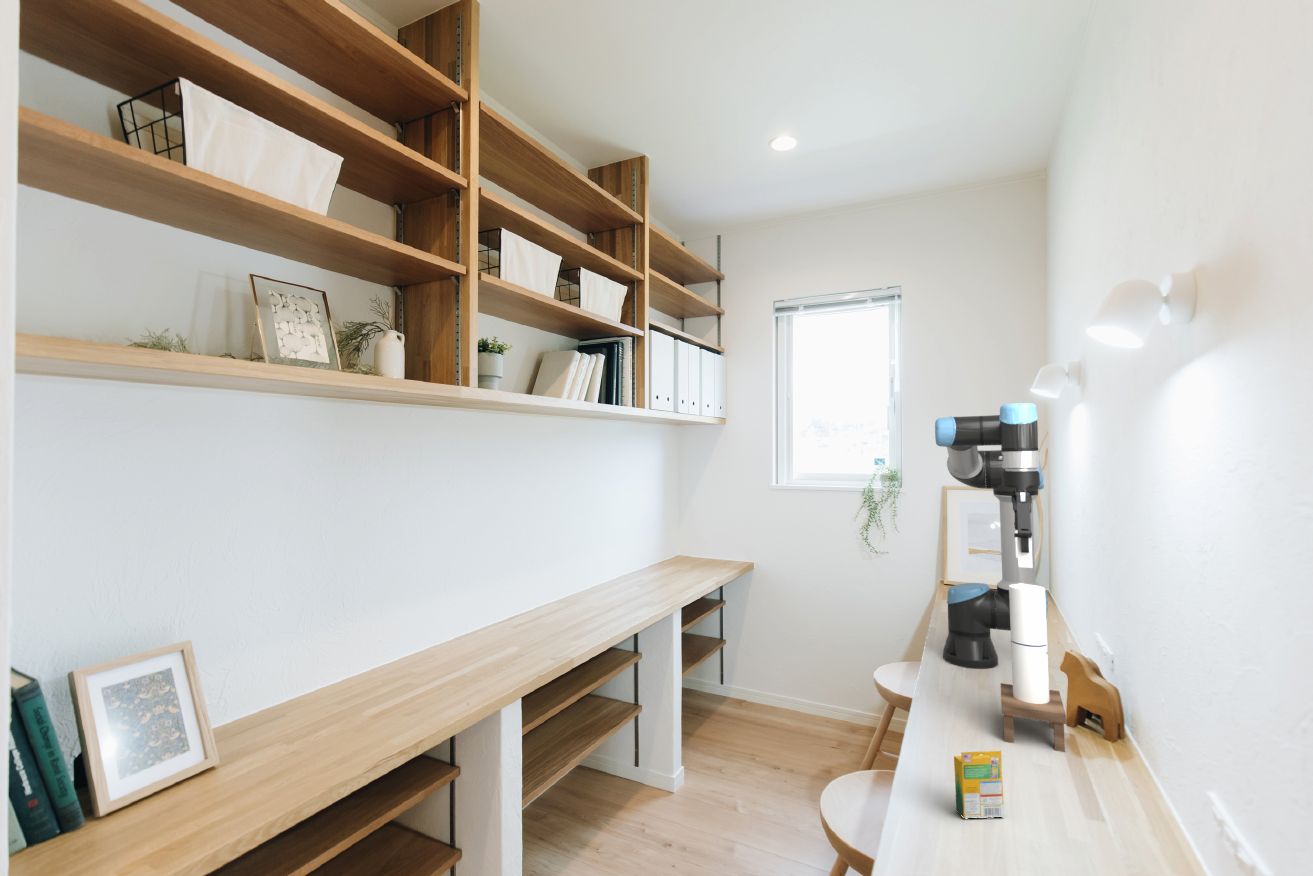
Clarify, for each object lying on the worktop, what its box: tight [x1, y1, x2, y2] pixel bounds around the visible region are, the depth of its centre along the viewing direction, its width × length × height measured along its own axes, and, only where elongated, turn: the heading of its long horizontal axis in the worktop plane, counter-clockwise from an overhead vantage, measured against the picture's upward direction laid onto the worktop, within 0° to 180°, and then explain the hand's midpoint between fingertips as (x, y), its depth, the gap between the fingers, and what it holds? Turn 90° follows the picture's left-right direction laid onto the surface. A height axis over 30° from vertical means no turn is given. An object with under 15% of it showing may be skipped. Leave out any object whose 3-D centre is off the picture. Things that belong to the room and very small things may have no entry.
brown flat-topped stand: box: [1000, 682, 1067, 753], centre depth 142 cm, size 15×12×8 cm
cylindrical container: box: [1009, 584, 1050, 704], centre depth 143 cm, size 7×7×25 cm
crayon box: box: [953, 750, 1005, 818], centre depth 111 cm, size 7×3×12 cm, turn 92°
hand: (1023, 562), depth 144 cm, fingers open, 13 cm apart
